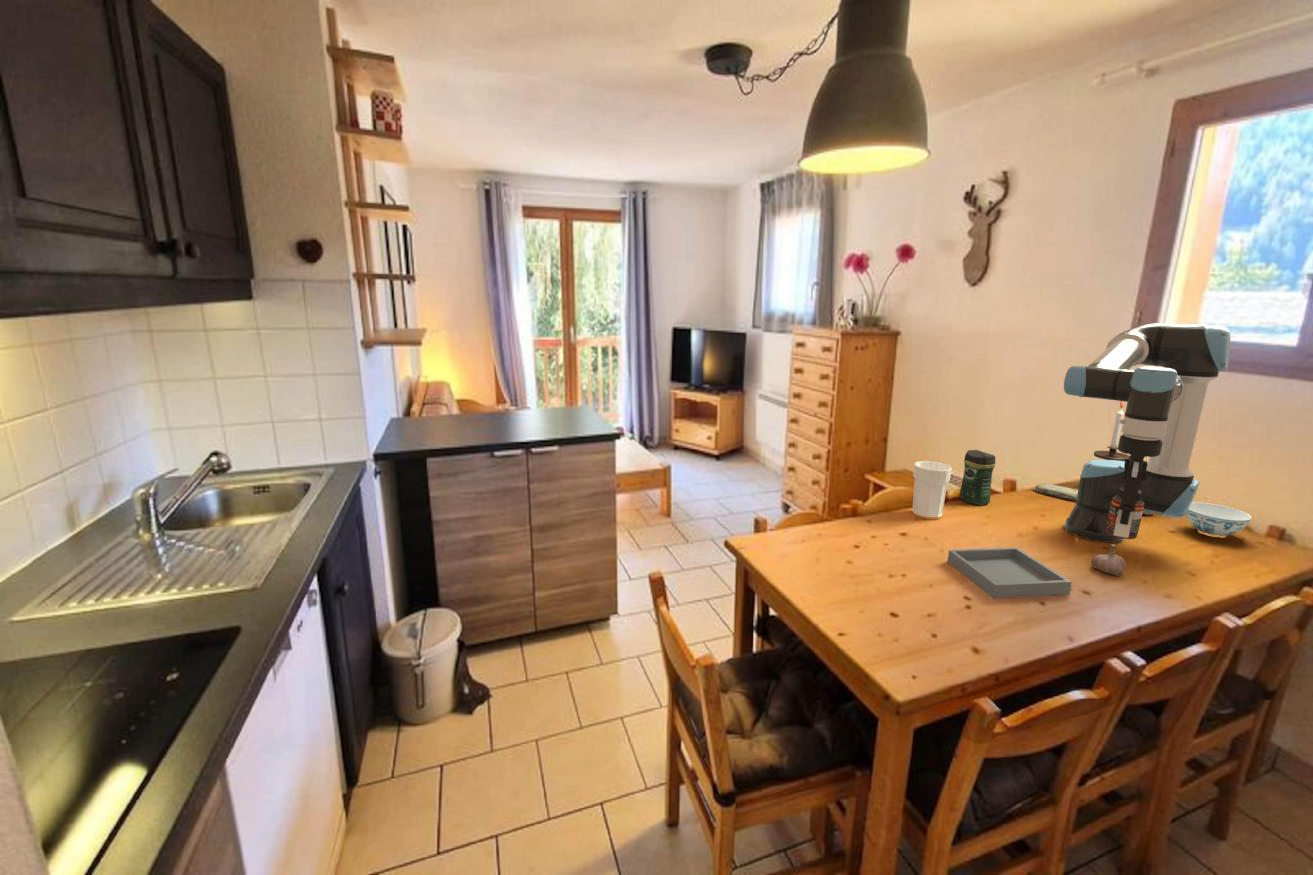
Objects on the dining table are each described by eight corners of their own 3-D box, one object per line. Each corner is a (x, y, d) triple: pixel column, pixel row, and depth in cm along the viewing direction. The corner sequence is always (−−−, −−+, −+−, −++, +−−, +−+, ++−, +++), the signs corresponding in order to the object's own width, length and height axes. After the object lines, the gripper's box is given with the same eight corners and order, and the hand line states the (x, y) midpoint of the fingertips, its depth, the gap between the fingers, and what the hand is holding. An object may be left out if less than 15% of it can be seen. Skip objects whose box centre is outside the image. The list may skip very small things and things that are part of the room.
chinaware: (1259, 544, 173) (1266, 520, 172) (1208, 544, 174) (1214, 520, 172) (1213, 524, 188) (1219, 502, 186) (1166, 524, 188) (1172, 502, 186)
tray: (1014, 558, 164) (1016, 547, 163) (1069, 594, 145) (1071, 581, 144) (947, 561, 162) (949, 549, 162) (993, 597, 143) (995, 585, 142)
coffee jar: (993, 504, 206) (1001, 454, 201) (975, 506, 203) (983, 456, 199) (972, 495, 215) (979, 447, 210) (954, 497, 212) (961, 448, 208)
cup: (951, 521, 191) (958, 470, 187) (917, 521, 191) (923, 470, 187) (935, 508, 202) (942, 460, 198) (903, 508, 202) (908, 460, 198)
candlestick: (1079, 487, 223) (1096, 398, 215) (1102, 485, 226) (1119, 396, 217) (1107, 497, 213) (1126, 403, 204) (1130, 494, 216) (1150, 402, 207)
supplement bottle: (1098, 530, 139) (1107, 485, 136) (1121, 529, 140) (1130, 484, 137) (1119, 540, 133) (1129, 494, 130) (1143, 539, 134) (1154, 493, 131)
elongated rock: (1039, 490, 224) (1031, 498, 218) (1040, 478, 223) (1032, 485, 217) (1156, 510, 199) (1151, 519, 193) (1158, 496, 198) (1153, 504, 191)
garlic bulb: (1126, 580, 152) (1132, 552, 150) (1091, 573, 156) (1097, 546, 154) (1121, 568, 158) (1127, 541, 156) (1088, 562, 162) (1094, 536, 160)
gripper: (1122, 426, 140) (1104, 515, 146) (1118, 442, 126) (1098, 540, 131) (1162, 431, 135) (1142, 523, 141) (1164, 447, 121) (1141, 549, 127)
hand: (1121, 531), depth 136 cm, fingers closed on supplement bottle, 6 cm apart
